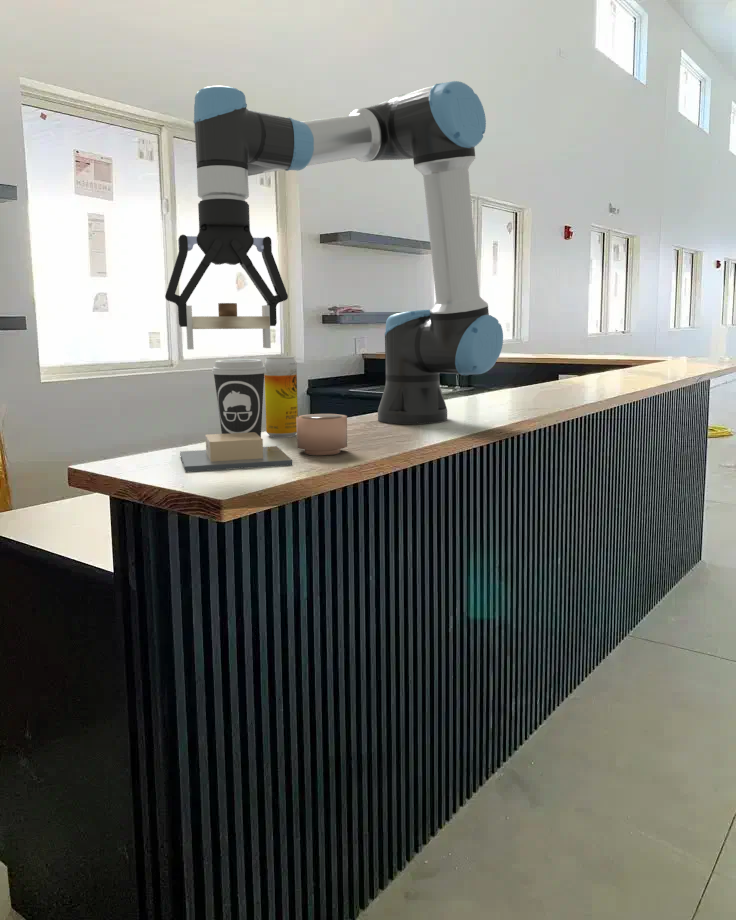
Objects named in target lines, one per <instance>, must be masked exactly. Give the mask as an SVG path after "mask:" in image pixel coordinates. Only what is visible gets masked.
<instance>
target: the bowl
mask: <svg viewBox="0 0 736 920" xmlns="http://www.w3.org/2000/svg"><path fill="white" fill-rule="evenodd" d="M296 423H297V433H296V447H297V449H300V450H303V451H304V454H305V455H310V456H329V455H330V456H331V455H333V456H334V455H337V454H340V453H341V449H345V448H347V447H348V415H346V414H337V413H314V414H313V413H311V414H310V413H309V414H301V415H298V416H297V417H296Z"/></svg>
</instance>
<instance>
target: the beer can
mask: <svg viewBox="0 0 736 920" xmlns="http://www.w3.org/2000/svg"><path fill="white" fill-rule="evenodd" d="M263 366H265V368H266V371H267V373H264V399H265V400H264V401H265V428H266V429H265V430H266V431H265V433H267V434H268V436H269V437H270V438H279V439H280V438H281V439H282V438H291V437H295V436H296V437H297V423H296V417H297V416H299V413H298V412H299V410H298V408H299V406H298V373H297V372H298V370H297V361H296V359H295V356H293V355H291V356H290V355H285V356H284V355H283V356H281V355H278V356H276V355H274V356H265V361H264V362H263Z"/></svg>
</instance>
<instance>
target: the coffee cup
mask: <svg viewBox="0 0 736 920" xmlns="http://www.w3.org/2000/svg"><path fill="white" fill-rule="evenodd" d="M264 373H267V371H266V368H265V366H264V362H263V361H262V360H261V359H249V358H248V359H222V360H221V359H219V360H215V363H214V366H213V367H212V369H211V372H210V374H211V375H213V378H214V379H213V380H214V384H215V386H214V387H215V392H216V398H217V399H216V400H217V408H218V415H219V423H220V431H221V434H229V433H249V432H255V433H257V434H258V435H259V436H260V437H261V438H262V425H263V424H262V422H263V404H264V403H263V402H264V388H265V377H264Z"/></svg>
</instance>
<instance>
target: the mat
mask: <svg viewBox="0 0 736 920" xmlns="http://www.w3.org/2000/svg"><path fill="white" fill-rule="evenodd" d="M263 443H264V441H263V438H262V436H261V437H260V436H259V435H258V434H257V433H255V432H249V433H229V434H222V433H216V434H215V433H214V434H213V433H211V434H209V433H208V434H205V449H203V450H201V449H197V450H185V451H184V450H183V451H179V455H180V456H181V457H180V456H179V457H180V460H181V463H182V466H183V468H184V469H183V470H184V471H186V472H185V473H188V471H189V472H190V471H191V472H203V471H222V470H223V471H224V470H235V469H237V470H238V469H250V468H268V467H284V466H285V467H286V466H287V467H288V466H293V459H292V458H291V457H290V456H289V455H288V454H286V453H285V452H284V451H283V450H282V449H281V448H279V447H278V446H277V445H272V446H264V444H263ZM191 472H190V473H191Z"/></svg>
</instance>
